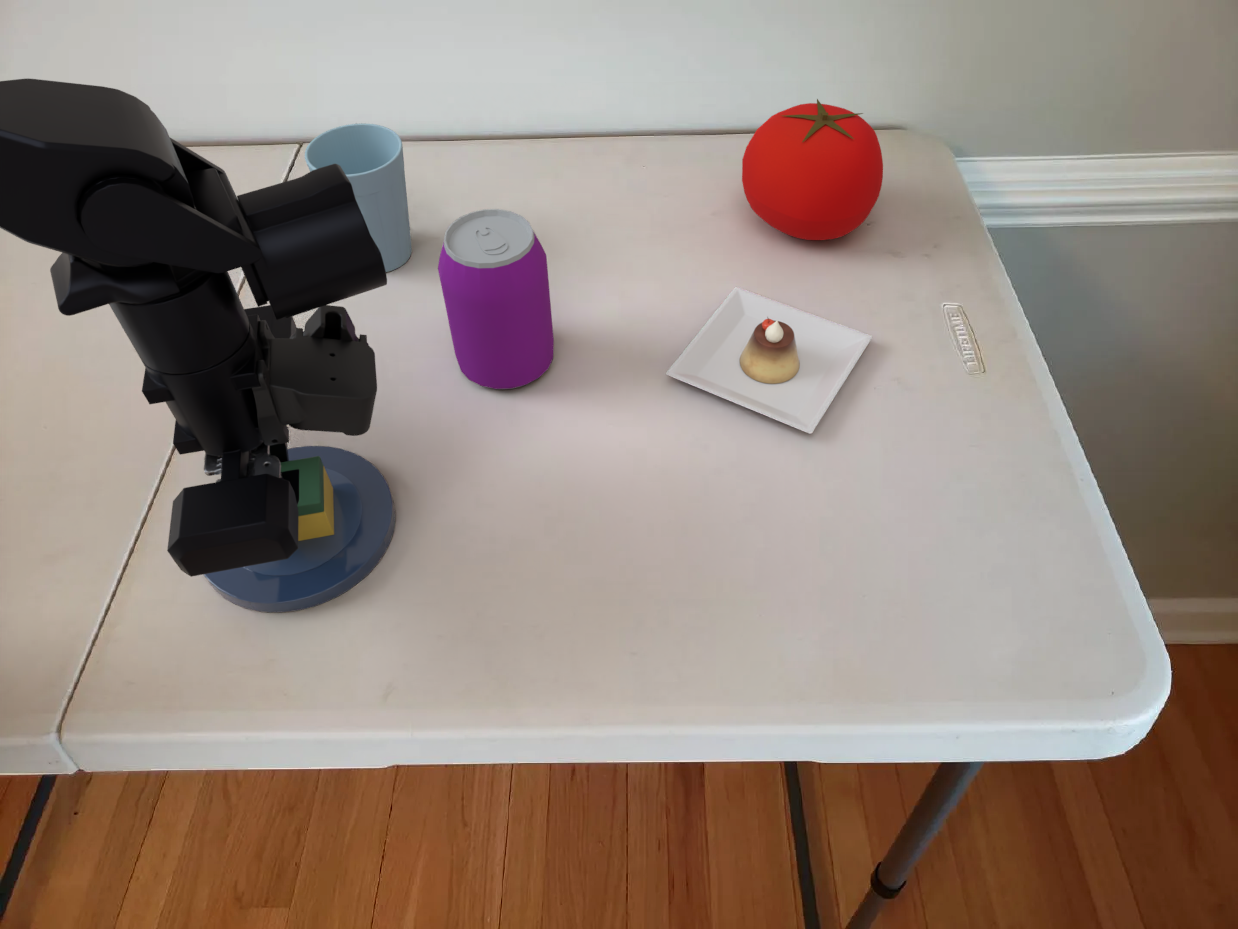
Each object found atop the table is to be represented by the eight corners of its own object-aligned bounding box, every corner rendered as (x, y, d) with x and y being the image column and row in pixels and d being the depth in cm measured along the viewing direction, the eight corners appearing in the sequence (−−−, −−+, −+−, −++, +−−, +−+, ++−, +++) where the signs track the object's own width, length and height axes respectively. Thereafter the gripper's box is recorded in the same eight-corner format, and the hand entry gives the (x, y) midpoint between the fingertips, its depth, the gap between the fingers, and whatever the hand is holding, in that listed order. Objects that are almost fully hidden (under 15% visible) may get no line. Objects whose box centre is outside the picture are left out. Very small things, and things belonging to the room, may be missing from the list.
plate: (192, 630, 57) (184, 620, 56) (206, 473, 66) (199, 462, 65) (402, 591, 59) (398, 580, 58) (390, 442, 67) (386, 431, 66)
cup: (442, 242, 82) (421, 136, 74) (389, 292, 78) (361, 185, 70) (374, 219, 85) (346, 114, 77) (319, 266, 80) (284, 160, 72)
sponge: (240, 551, 60) (221, 519, 57) (243, 503, 62) (225, 471, 60) (334, 534, 60) (320, 502, 58) (333, 488, 63) (319, 455, 60)
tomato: (892, 212, 85) (920, 105, 76) (833, 279, 79) (857, 171, 70) (778, 170, 89) (793, 65, 81) (714, 230, 83) (723, 124, 75)
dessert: (734, 296, 77) (740, 249, 74) (870, 346, 73) (882, 299, 70) (664, 384, 71) (666, 337, 67) (809, 444, 67) (819, 398, 63)
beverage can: (443, 348, 74) (416, 222, 64) (530, 317, 76) (516, 191, 67) (481, 409, 69) (457, 284, 60) (572, 374, 72) (563, 248, 62)
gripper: (354, 440, 44) (416, 609, 56) (344, 212, 56) (397, 393, 68) (110, 482, 42) (228, 645, 55) (152, 240, 54) (241, 419, 66)
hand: (283, 512), depth 61 cm, fingers closed on sponge, 4 cm apart
